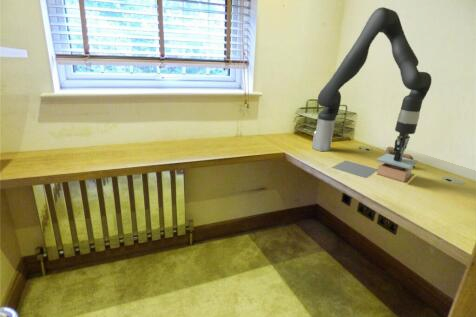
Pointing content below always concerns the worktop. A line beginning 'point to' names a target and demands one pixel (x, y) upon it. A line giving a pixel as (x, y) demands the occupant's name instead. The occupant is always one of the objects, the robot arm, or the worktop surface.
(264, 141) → the worktop surface
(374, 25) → the robot arm
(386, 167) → the dish
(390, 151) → the lion figurine
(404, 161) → the lid
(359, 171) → the mat
